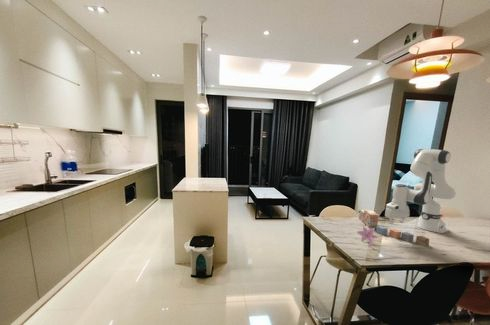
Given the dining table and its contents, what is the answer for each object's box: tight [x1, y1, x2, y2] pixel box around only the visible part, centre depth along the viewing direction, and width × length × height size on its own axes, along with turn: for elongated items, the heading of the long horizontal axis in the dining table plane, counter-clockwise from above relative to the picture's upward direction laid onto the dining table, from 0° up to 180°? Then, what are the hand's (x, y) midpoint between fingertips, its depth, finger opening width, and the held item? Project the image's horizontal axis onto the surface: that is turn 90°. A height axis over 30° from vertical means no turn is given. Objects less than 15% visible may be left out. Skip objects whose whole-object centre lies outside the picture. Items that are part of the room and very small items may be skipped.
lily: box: [356, 226, 379, 245], centre depth 144 cm, size 12×12×10 cm
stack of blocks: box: [358, 209, 379, 230], centre depth 177 cm, size 21×6×12 cm, turn 171°
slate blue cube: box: [375, 225, 388, 236], centre depth 158 cm, size 5×5×5 cm
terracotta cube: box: [388, 228, 402, 239], centre depth 152 cm, size 5×5×5 cm
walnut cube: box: [415, 235, 430, 247], centre depth 142 cm, size 5×5×5 cm
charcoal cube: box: [400, 231, 414, 243], centre depth 148 cm, size 5×5×5 cm
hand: (396, 223), depth 151 cm, fingers open, 8 cm apart
